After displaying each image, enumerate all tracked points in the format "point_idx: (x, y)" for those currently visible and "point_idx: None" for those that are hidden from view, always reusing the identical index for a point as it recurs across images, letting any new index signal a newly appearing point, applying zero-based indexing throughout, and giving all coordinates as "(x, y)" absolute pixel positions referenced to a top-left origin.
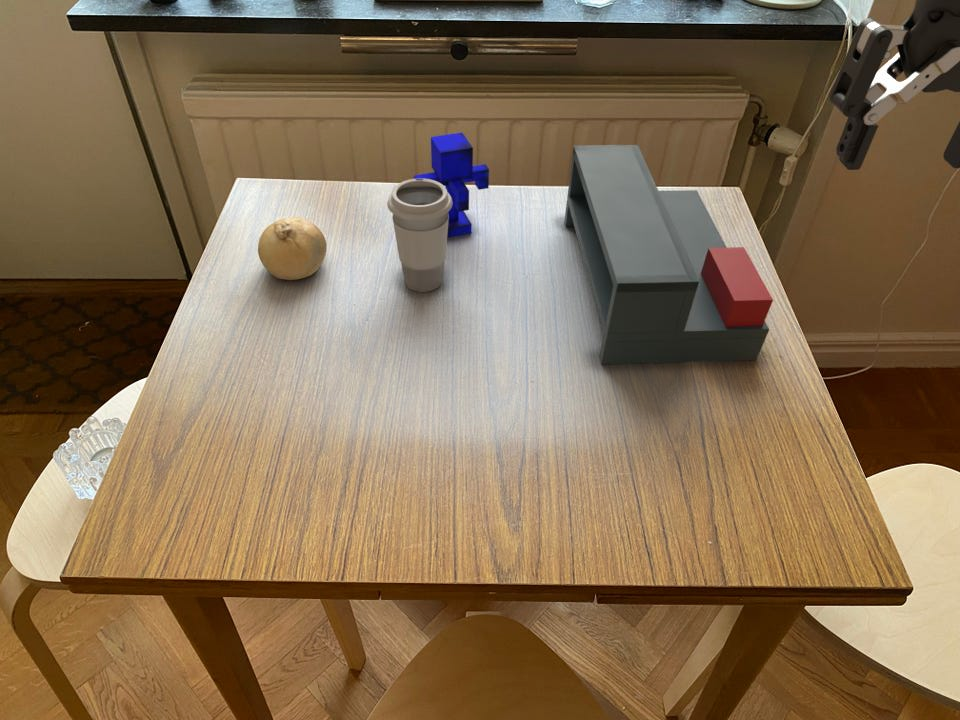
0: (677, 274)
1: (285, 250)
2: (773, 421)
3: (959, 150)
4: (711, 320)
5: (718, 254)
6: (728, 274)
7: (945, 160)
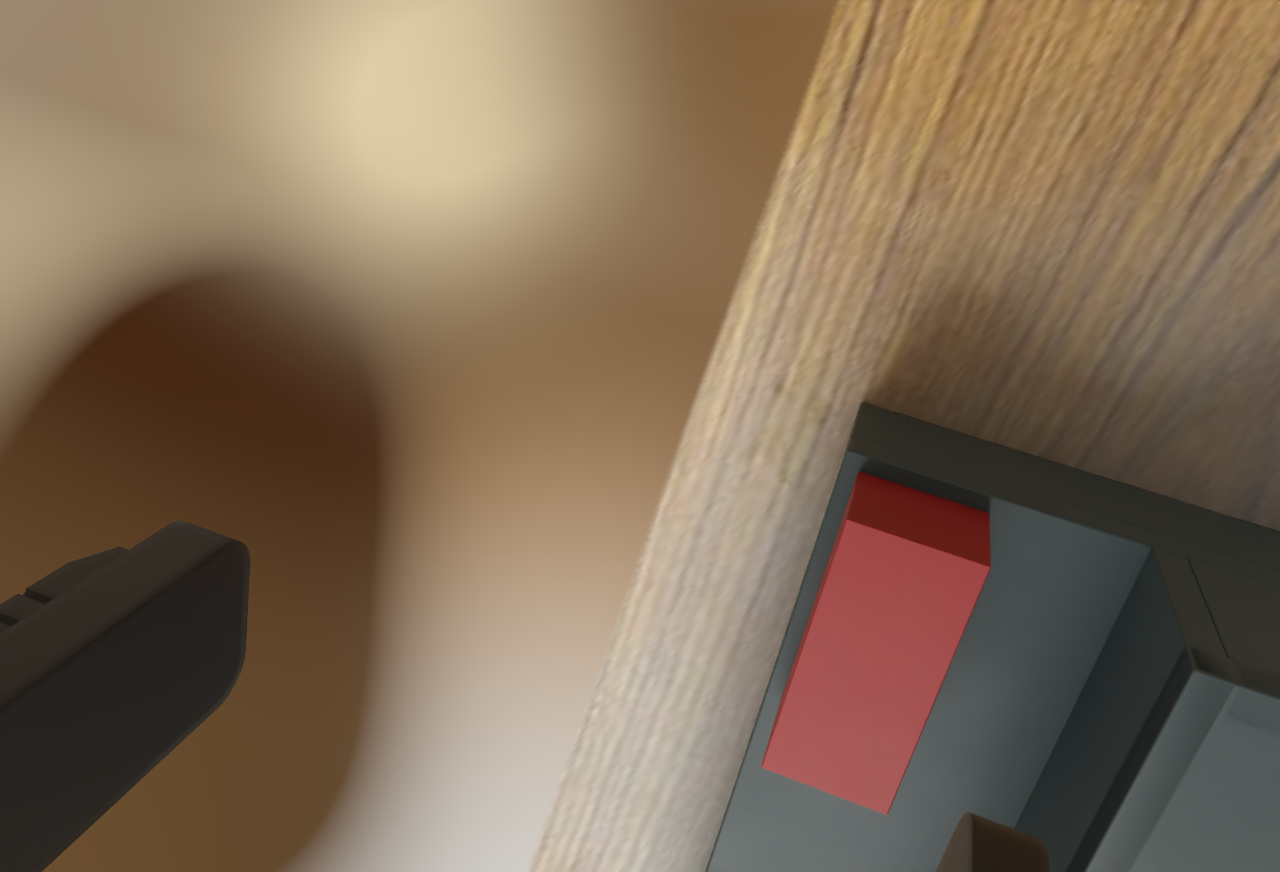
0: (1253, 737)
1: None
2: (985, 161)
3: (171, 645)
4: (1016, 554)
5: (876, 775)
6: (912, 683)
7: (243, 646)
